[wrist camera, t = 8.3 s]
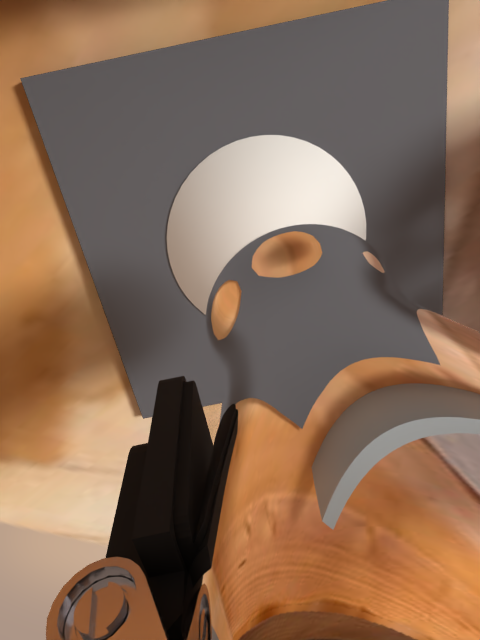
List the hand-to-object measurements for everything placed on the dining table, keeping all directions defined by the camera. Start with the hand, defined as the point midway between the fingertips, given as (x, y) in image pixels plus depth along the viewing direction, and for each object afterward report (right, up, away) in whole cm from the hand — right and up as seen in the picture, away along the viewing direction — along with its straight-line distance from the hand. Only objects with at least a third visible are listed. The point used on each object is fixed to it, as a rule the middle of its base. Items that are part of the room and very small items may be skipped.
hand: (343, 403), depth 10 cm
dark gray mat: (-1, +6, +13) cm, 14 cm away
